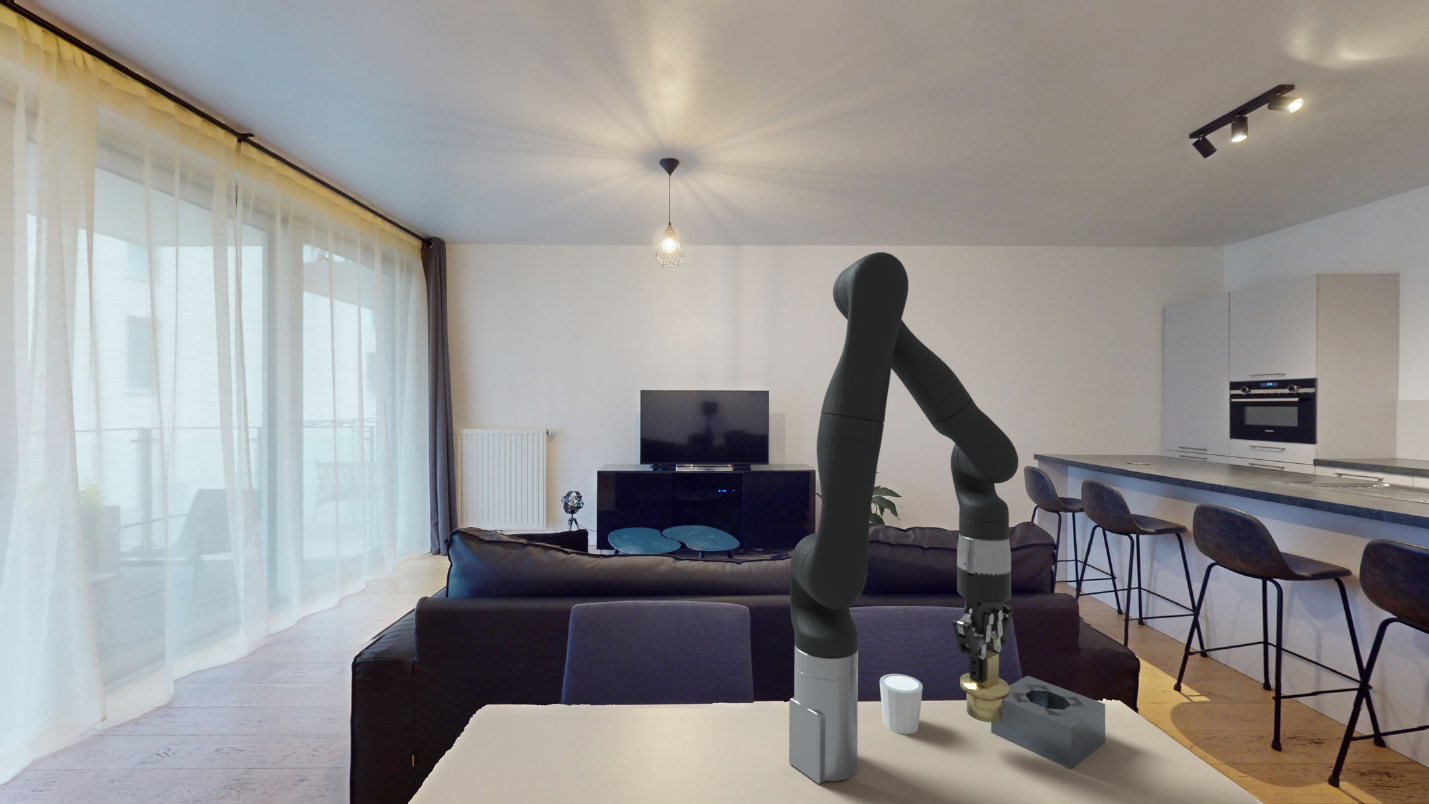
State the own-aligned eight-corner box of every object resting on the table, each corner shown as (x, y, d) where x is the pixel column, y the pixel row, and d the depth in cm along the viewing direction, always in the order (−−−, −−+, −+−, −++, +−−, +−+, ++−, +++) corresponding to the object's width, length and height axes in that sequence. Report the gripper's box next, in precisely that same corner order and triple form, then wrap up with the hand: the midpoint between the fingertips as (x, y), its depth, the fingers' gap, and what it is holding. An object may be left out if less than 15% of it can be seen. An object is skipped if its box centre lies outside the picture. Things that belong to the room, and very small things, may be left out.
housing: (1071, 769, 86) (1071, 728, 86) (991, 732, 95) (991, 695, 95) (1105, 742, 93) (1105, 704, 93) (1027, 710, 102) (1027, 675, 103)
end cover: (994, 730, 86) (993, 666, 86) (951, 711, 91) (951, 650, 91) (1017, 716, 90) (1017, 654, 90) (975, 698, 95) (975, 640, 95)
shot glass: (927, 721, 99) (927, 679, 99) (916, 741, 93) (917, 696, 93) (886, 709, 102) (886, 669, 102) (873, 727, 97) (874, 685, 97)
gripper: (984, 553, 98) (984, 657, 98) (935, 567, 89) (935, 681, 89) (1030, 563, 92) (1031, 674, 91) (982, 578, 83) (982, 701, 83)
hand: (983, 677), depth 90 cm, fingers closed on end cover, 3 cm apart
